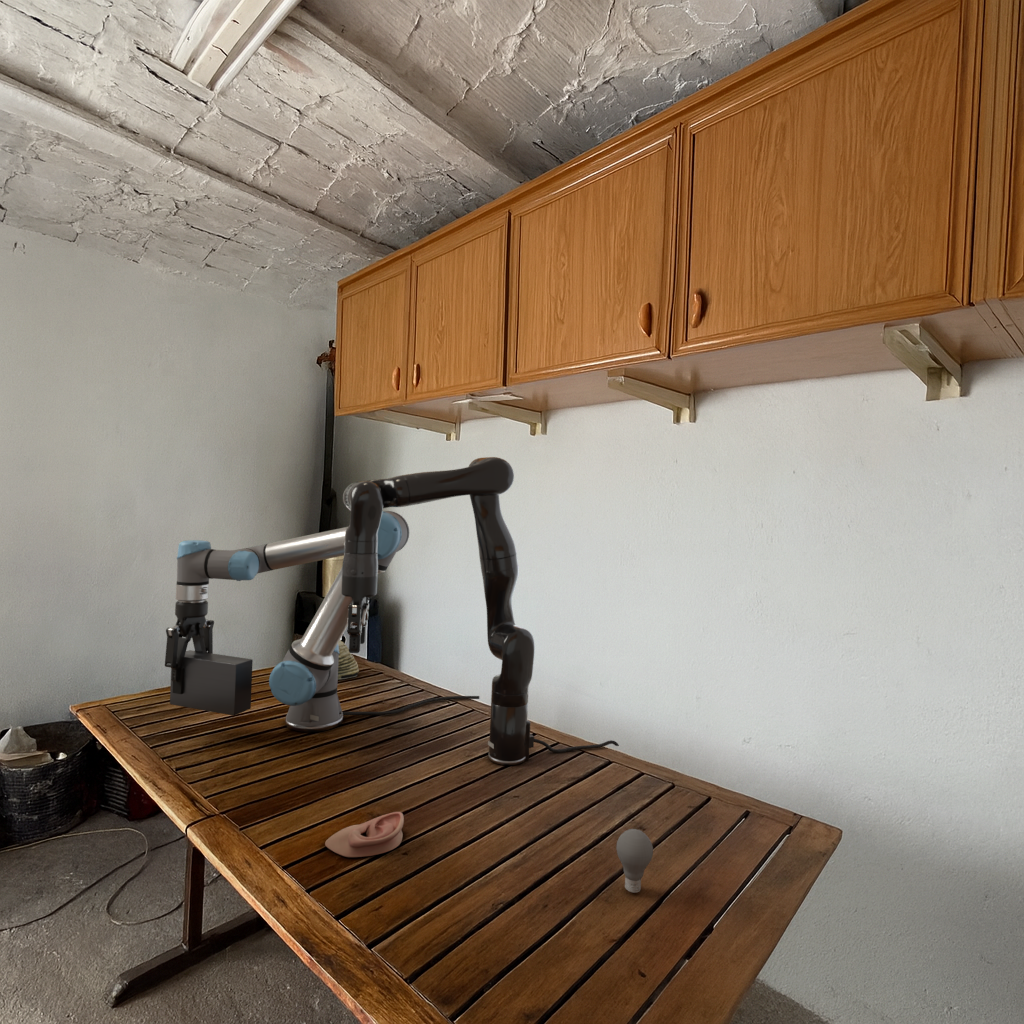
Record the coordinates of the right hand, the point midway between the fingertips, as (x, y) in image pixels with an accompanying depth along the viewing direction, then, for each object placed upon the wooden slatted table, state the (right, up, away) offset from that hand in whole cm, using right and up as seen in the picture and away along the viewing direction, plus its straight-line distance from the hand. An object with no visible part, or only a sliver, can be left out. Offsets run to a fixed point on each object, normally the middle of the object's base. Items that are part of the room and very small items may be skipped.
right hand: (357, 647), depth 137 cm
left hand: (-50, -16, +26) cm, 59 cm away
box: (-43, -20, +24) cm, 53 cm away
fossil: (-29, -28, +82) cm, 92 cm away
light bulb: (+54, -34, -32) cm, 71 cm away
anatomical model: (+6, -32, -20) cm, 38 cm away
